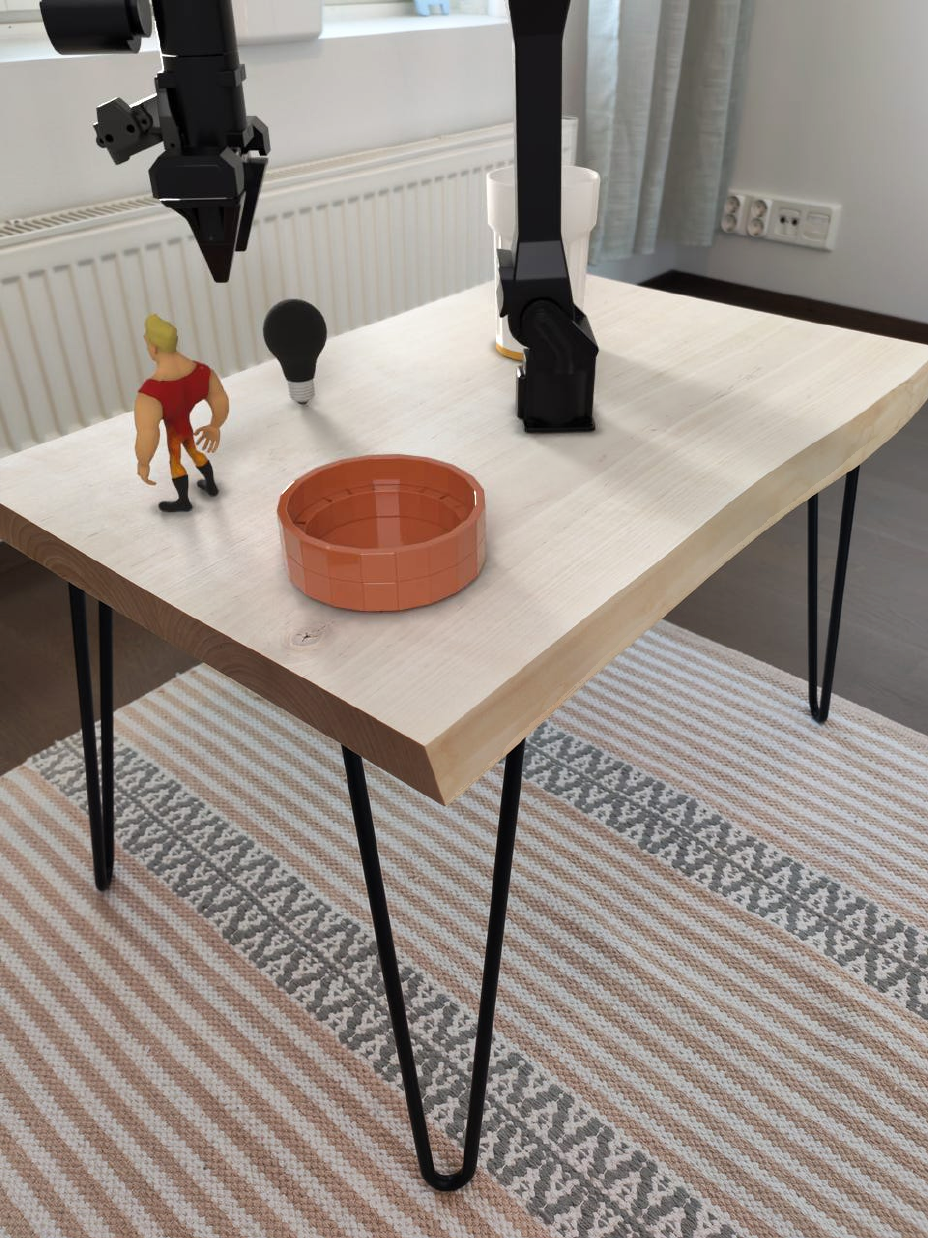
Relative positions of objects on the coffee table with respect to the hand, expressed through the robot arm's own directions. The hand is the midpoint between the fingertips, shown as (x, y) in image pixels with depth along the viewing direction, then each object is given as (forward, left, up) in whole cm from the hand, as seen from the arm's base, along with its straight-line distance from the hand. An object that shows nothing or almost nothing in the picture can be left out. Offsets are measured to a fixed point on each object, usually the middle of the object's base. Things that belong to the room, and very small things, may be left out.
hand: (231, 265), depth 82 cm
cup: (-28, -19, -15) cm, 37 cm away
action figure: (+3, +14, -15) cm, 21 cm away
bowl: (-13, +24, -14) cm, 31 cm away
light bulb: (-4, -5, -15) cm, 16 cm away
